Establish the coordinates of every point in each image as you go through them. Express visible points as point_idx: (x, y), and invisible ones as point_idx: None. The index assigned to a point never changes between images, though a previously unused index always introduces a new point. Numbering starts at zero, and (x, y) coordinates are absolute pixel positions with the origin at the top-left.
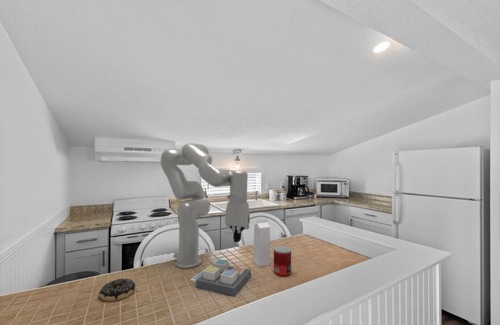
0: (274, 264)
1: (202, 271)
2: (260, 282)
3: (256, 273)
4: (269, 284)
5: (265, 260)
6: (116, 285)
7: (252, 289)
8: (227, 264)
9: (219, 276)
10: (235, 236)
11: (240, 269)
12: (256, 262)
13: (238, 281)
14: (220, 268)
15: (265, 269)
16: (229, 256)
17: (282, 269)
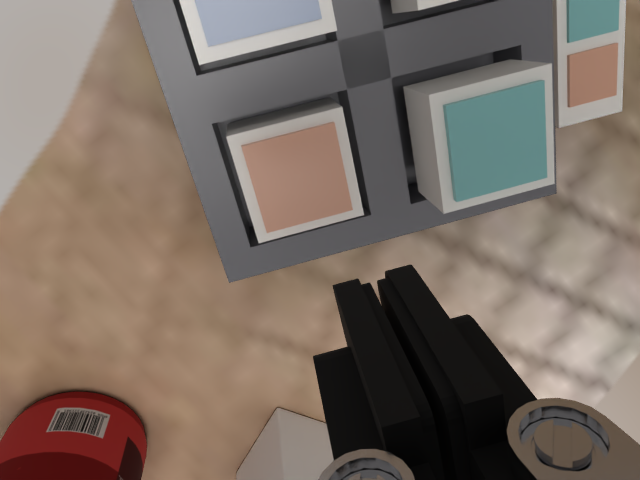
0: (95, 450)
1: (613, 58)
2: (107, 233)
3: (230, 322)
4: (29, 251)
5: (253, 478)
6: None
7: (76, 100)
8: (430, 179)
9: (401, 23)
10: (418, 343)
11: (275, 196)
12: (319, 432)
13: (163, 27)
14: (448, 81)
15: (216, 406)
16: (564, 397)
17: (13, 439)
